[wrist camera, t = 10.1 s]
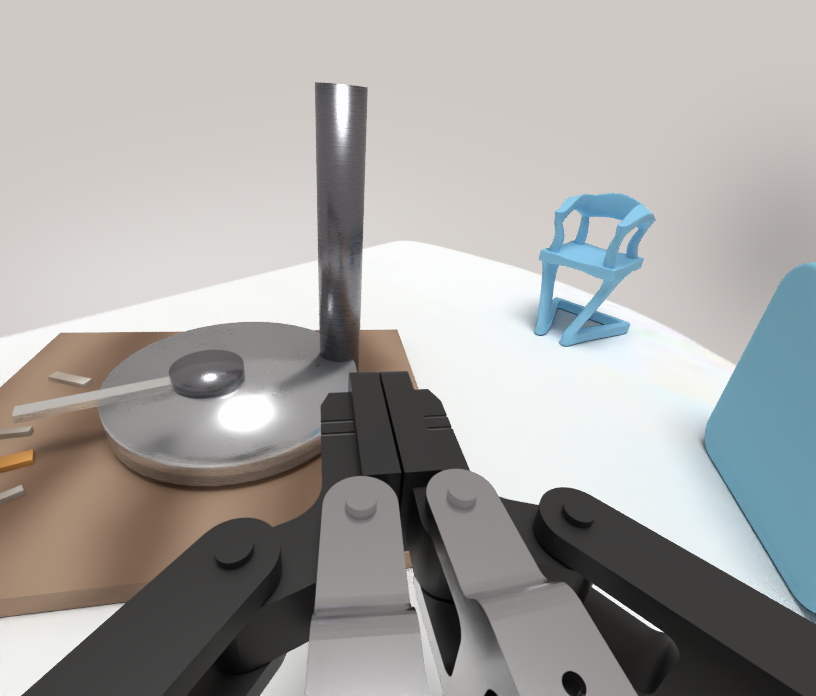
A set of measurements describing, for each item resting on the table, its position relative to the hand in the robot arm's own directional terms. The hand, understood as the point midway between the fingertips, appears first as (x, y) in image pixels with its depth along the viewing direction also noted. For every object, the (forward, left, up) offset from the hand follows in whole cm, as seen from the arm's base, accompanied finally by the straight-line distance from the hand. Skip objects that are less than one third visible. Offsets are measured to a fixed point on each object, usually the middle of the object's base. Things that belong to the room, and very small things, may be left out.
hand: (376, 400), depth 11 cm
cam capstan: (-7, +12, -9) cm, 16 cm away
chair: (+22, +24, -10) cm, 34 cm away
